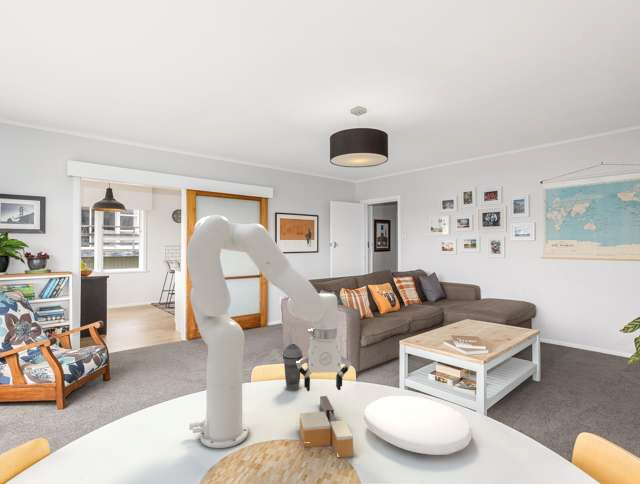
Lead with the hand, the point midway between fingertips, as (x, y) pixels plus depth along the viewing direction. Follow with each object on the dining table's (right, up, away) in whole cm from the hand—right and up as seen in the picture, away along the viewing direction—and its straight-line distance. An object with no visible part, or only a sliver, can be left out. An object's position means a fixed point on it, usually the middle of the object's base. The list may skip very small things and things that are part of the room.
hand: (323, 389), depth 114 cm
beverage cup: (-10, -8, +19) cm, 23 cm away
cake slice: (+4, -6, -21) cm, 22 cm away
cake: (-3, -7, -16) cm, 17 cm away
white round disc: (+25, -7, -13) cm, 29 cm away
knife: (+2, -7, -5) cm, 9 cm away
